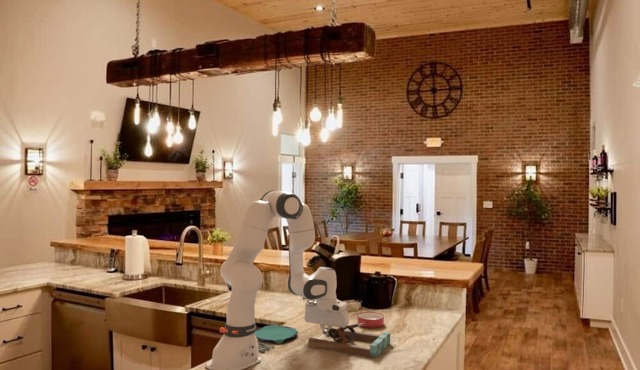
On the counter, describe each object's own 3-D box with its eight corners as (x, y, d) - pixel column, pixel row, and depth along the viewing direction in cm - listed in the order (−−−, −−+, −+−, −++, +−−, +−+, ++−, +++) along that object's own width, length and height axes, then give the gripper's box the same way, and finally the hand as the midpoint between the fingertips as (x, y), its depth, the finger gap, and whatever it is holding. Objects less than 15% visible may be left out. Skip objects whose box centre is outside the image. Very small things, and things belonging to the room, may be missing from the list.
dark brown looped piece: (350, 338, 225) (356, 325, 221) (351, 354, 216) (358, 341, 212) (325, 332, 223) (331, 319, 219) (325, 348, 215) (331, 334, 211)
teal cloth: (305, 333, 229) (305, 328, 229) (267, 355, 203) (267, 350, 203) (270, 327, 239) (270, 322, 239) (229, 347, 213) (229, 342, 213)
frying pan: (367, 342, 218) (367, 328, 218) (339, 338, 223) (339, 324, 223) (387, 322, 248) (387, 309, 247) (362, 319, 253) (362, 306, 252)
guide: (375, 358, 200) (375, 346, 200) (308, 345, 213) (308, 334, 213) (390, 343, 217) (390, 332, 217) (327, 333, 230) (327, 322, 230)
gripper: (302, 302, 221) (301, 333, 222) (344, 308, 213) (344, 340, 213) (308, 299, 227) (308, 329, 227) (350, 304, 218) (349, 335, 219)
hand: (326, 334), depth 220 cm, fingers closed
